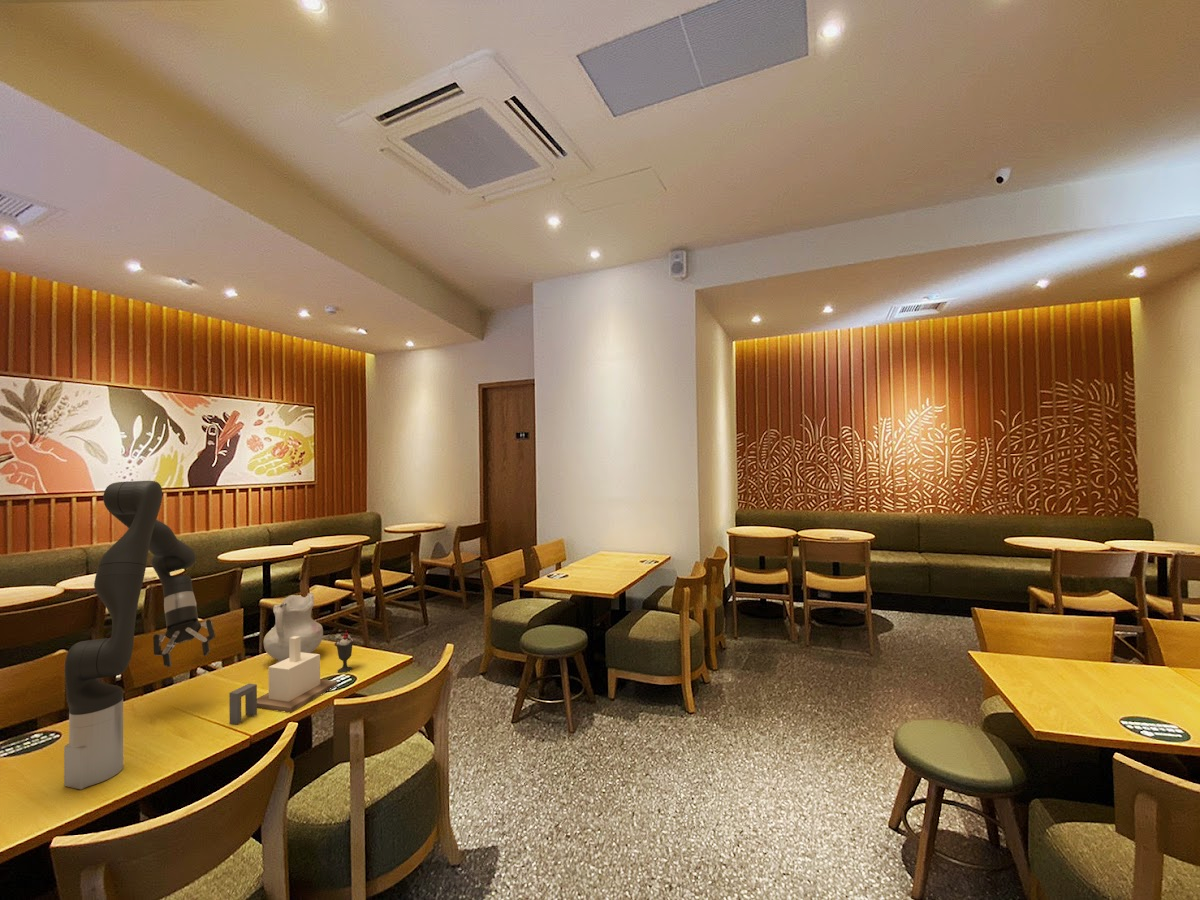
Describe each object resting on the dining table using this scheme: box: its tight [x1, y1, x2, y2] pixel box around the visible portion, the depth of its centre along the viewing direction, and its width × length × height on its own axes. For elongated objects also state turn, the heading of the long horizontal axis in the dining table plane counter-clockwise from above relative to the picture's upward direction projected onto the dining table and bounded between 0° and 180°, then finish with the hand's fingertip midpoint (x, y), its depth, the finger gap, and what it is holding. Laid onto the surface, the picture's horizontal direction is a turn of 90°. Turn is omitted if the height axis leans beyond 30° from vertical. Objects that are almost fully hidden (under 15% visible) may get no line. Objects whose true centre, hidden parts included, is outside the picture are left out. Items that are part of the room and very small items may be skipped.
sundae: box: [333, 629, 356, 673], centre depth 177 cm, size 7×7×15 cm
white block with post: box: [268, 636, 321, 702], centre depth 158 cm, size 12×8×18 cm, turn 165°
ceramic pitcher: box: [263, 592, 324, 664], centre depth 186 cm, size 22×20×25 cm
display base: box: [257, 678, 338, 714], centre depth 157 cm, size 18×16×2 cm
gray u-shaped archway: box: [228, 683, 258, 726], centre depth 144 cm, size 6×3×9 cm, turn 165°
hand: (187, 661), depth 147 cm, fingers open, 8 cm apart
